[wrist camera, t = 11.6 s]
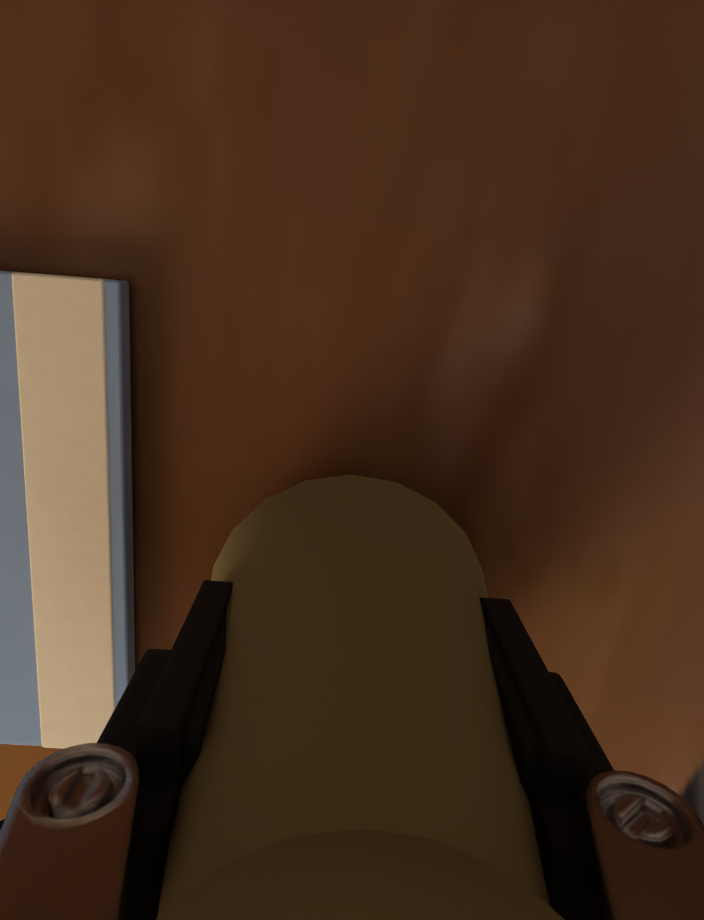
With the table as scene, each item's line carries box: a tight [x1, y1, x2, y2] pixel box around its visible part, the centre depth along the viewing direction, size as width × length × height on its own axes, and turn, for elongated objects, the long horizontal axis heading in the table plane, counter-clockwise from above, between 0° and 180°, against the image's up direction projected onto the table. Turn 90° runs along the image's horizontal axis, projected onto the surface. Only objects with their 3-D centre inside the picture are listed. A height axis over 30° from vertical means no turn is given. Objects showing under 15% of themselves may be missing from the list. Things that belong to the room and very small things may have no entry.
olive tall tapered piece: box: [155, 474, 565, 920], centre depth 8 cm, size 6×6×11 cm
